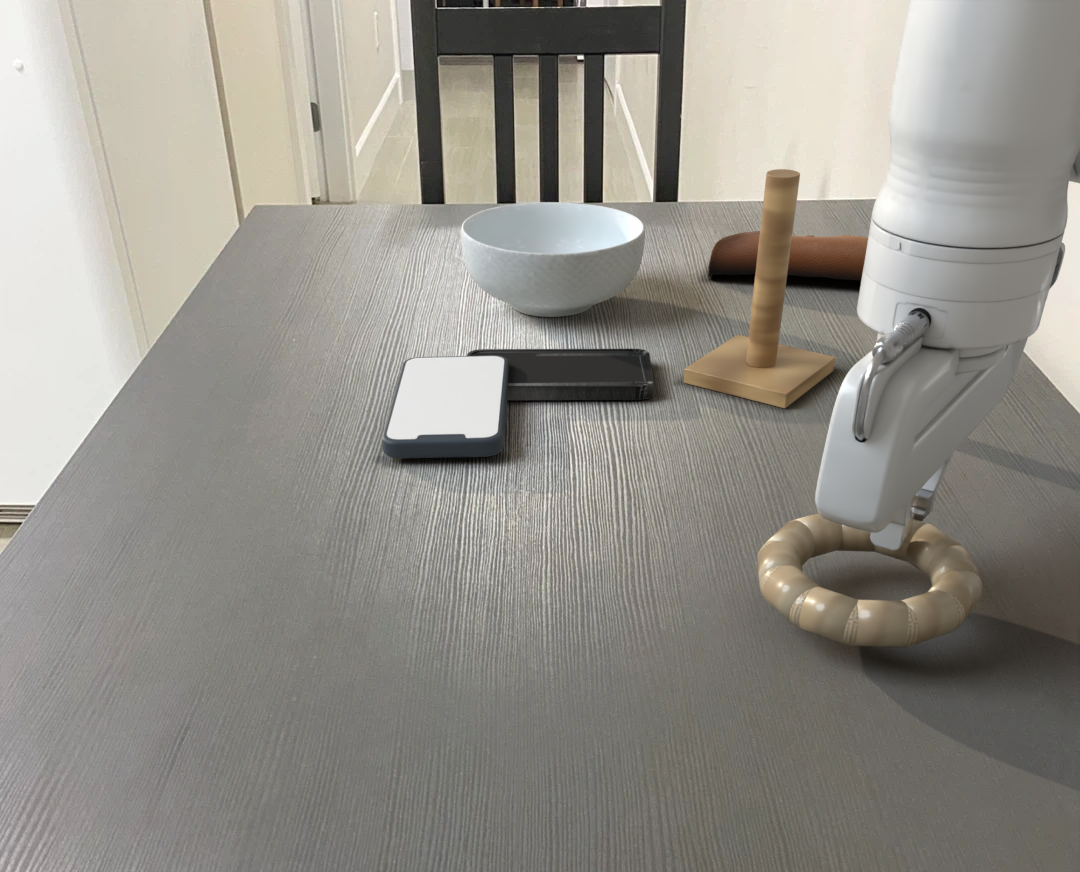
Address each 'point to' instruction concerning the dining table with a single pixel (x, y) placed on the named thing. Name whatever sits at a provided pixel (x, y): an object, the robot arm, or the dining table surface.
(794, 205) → the peg stand
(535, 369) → the phone
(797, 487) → the dining table surface
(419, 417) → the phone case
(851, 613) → the ring
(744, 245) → the sunglasses case
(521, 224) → the cereal bowl
